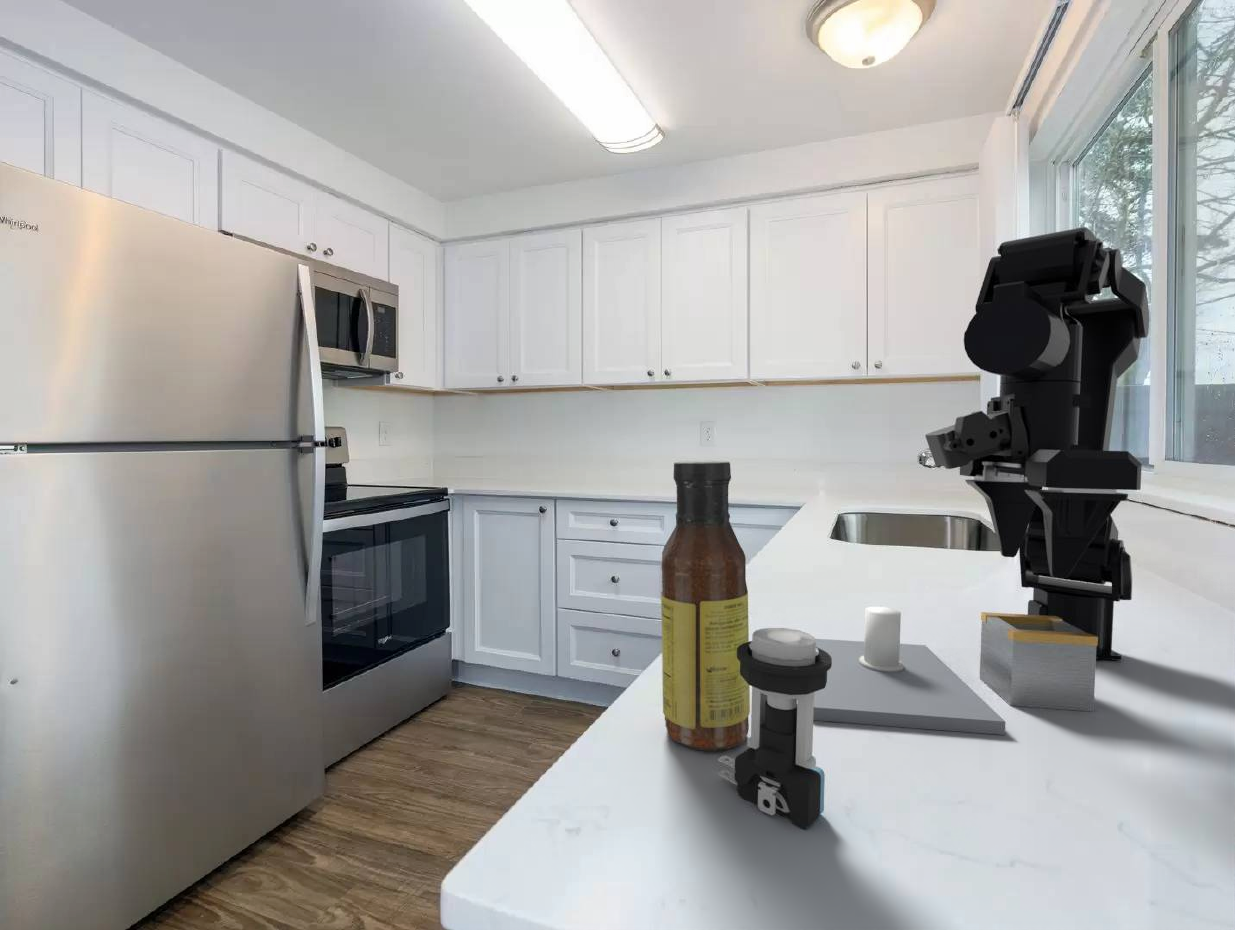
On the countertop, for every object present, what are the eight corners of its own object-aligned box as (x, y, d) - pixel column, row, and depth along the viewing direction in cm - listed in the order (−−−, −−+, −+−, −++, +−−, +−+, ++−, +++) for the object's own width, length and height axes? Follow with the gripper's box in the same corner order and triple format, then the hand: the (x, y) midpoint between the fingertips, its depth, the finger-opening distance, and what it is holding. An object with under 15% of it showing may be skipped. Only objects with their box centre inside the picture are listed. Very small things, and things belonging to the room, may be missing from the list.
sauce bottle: (754, 724, 48) (760, 460, 48) (742, 762, 42) (749, 463, 42) (669, 710, 50) (675, 458, 50) (647, 745, 45) (652, 460, 44)
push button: (696, 797, 38) (700, 631, 38) (742, 765, 42) (746, 614, 42) (801, 845, 34) (806, 658, 33) (842, 804, 38) (847, 636, 37)
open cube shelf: (1053, 682, 58) (1056, 616, 58) (1094, 711, 52) (1097, 637, 51) (978, 677, 59) (981, 612, 59) (1010, 705, 53) (1013, 632, 52)
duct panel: (924, 654, 65) (927, 596, 65) (1004, 735, 47) (1008, 654, 47) (783, 646, 67) (784, 589, 67) (808, 719, 49) (810, 642, 49)
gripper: (907, 392, 65) (902, 545, 66) (979, 373, 47) (971, 585, 47) (1027, 392, 63) (1021, 549, 64) (1151, 372, 45) (1140, 593, 45)
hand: (1031, 566), depth 55 cm, fingers open, 9 cm apart
